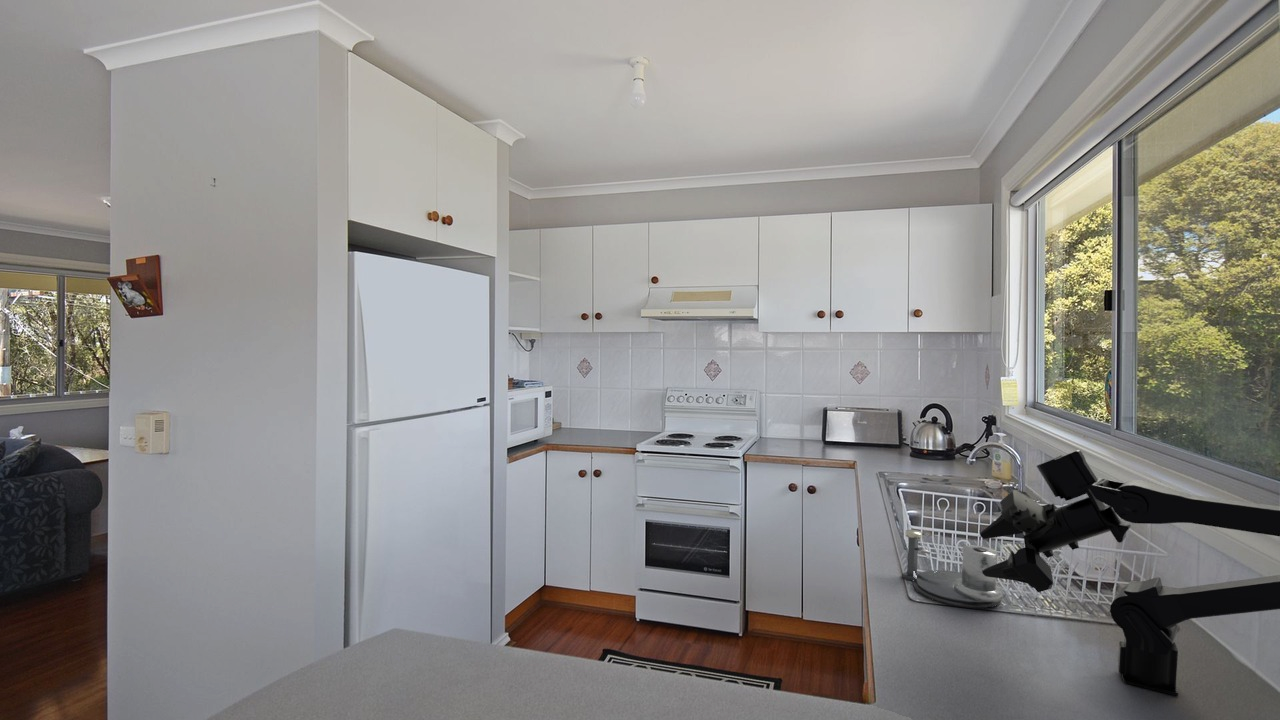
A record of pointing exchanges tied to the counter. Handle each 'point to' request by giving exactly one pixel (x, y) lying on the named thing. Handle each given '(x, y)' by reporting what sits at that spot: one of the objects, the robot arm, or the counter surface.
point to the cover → (978, 575)
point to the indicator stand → (913, 553)
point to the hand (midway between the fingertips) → (982, 554)
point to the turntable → (946, 589)
